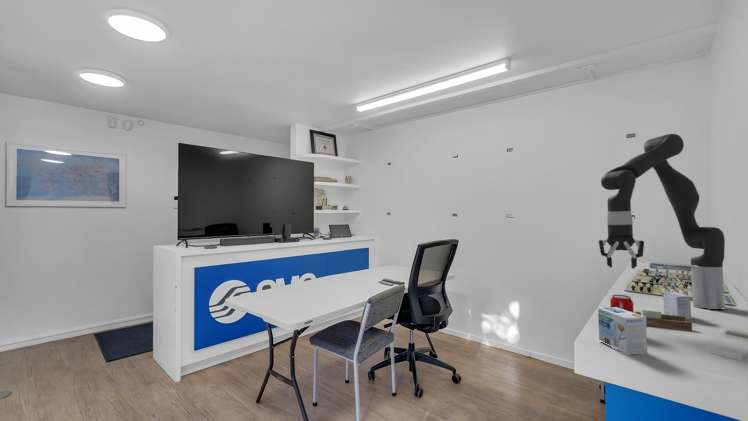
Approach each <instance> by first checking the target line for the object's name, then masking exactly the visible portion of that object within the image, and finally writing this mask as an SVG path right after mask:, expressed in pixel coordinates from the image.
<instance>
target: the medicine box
mask: <svg viewBox="0 0 748 421" xmlns="http://www.w3.org/2000/svg"><path fill="white" fill-rule="evenodd" d="M662 295H663V311H664V313H663V314H666V315H677V316H684V317H685V321H687V320H690V321H691V320H692V307H691V306H692V305H691V296H689V295H687V294H684V293H680V292H676V291H663V292H662Z"/></svg>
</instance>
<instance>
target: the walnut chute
mask: <svg viewBox="0 0 748 421" xmlns="http://www.w3.org/2000/svg"><path fill="white" fill-rule="evenodd" d="M634 313H636V314H639V315H641V311H634ZM646 327H658V328H665V329H667V328H668V329H675V330H685V331H693V324H692V322H691V321H686V319H685V317H684V316H677V315H668V314H665V313H661V319H656V318H646Z"/></svg>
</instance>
